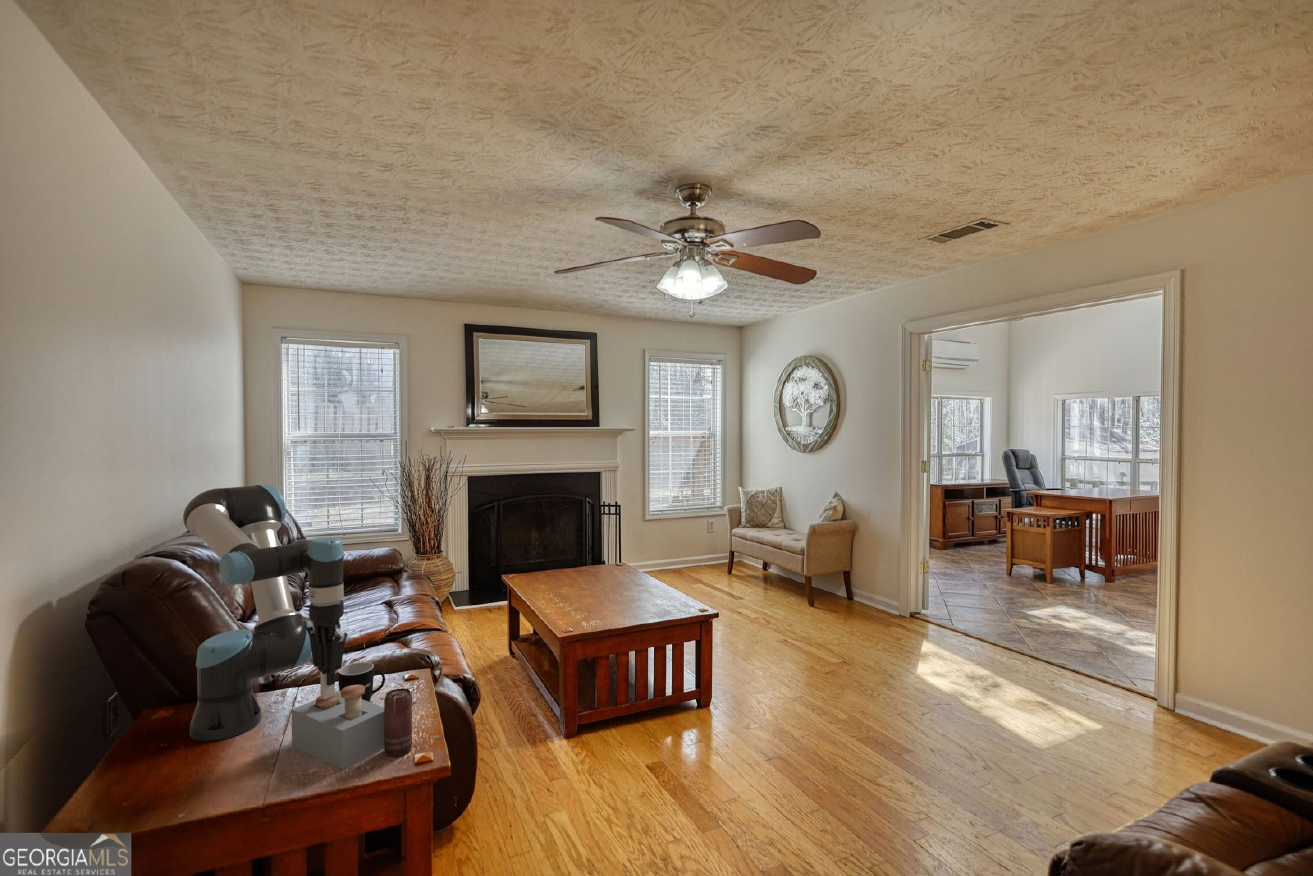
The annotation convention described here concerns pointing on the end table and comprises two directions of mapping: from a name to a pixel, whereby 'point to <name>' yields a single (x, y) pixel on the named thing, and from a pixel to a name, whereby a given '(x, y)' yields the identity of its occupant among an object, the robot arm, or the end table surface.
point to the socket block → (338, 732)
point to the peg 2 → (353, 701)
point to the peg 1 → (327, 702)
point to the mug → (359, 677)
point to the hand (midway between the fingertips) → (327, 696)
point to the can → (397, 722)
